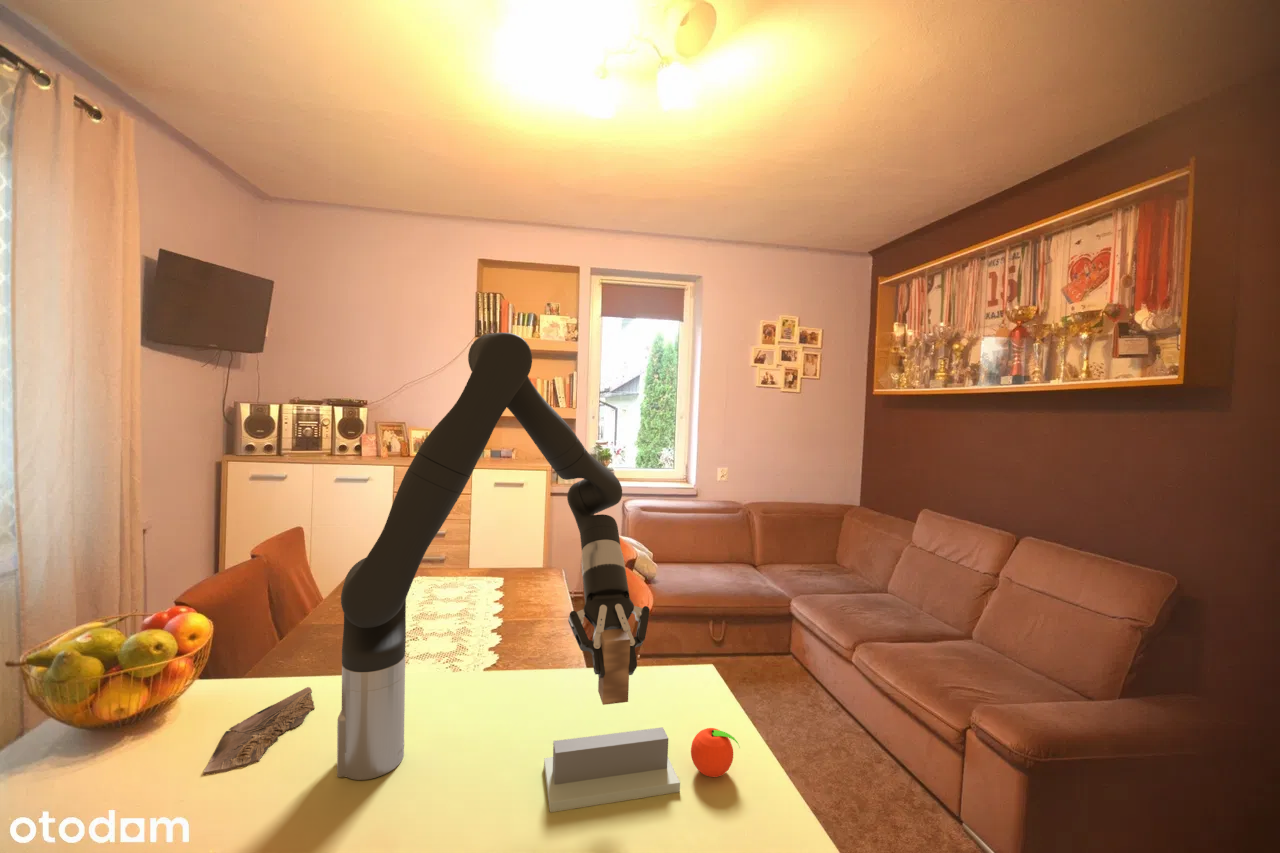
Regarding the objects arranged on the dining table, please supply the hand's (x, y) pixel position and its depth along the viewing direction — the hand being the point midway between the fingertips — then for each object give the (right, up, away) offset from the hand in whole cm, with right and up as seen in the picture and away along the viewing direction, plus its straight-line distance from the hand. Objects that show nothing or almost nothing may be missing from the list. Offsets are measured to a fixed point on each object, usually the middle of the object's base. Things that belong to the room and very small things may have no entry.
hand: (616, 674), depth 84 cm
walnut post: (-1, -4, +2) cm, 5 cm away
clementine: (+16, -19, +5) cm, 25 cm away
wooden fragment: (-63, -16, +13) cm, 66 cm away
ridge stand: (-1, -18, +3) cm, 18 cm away
